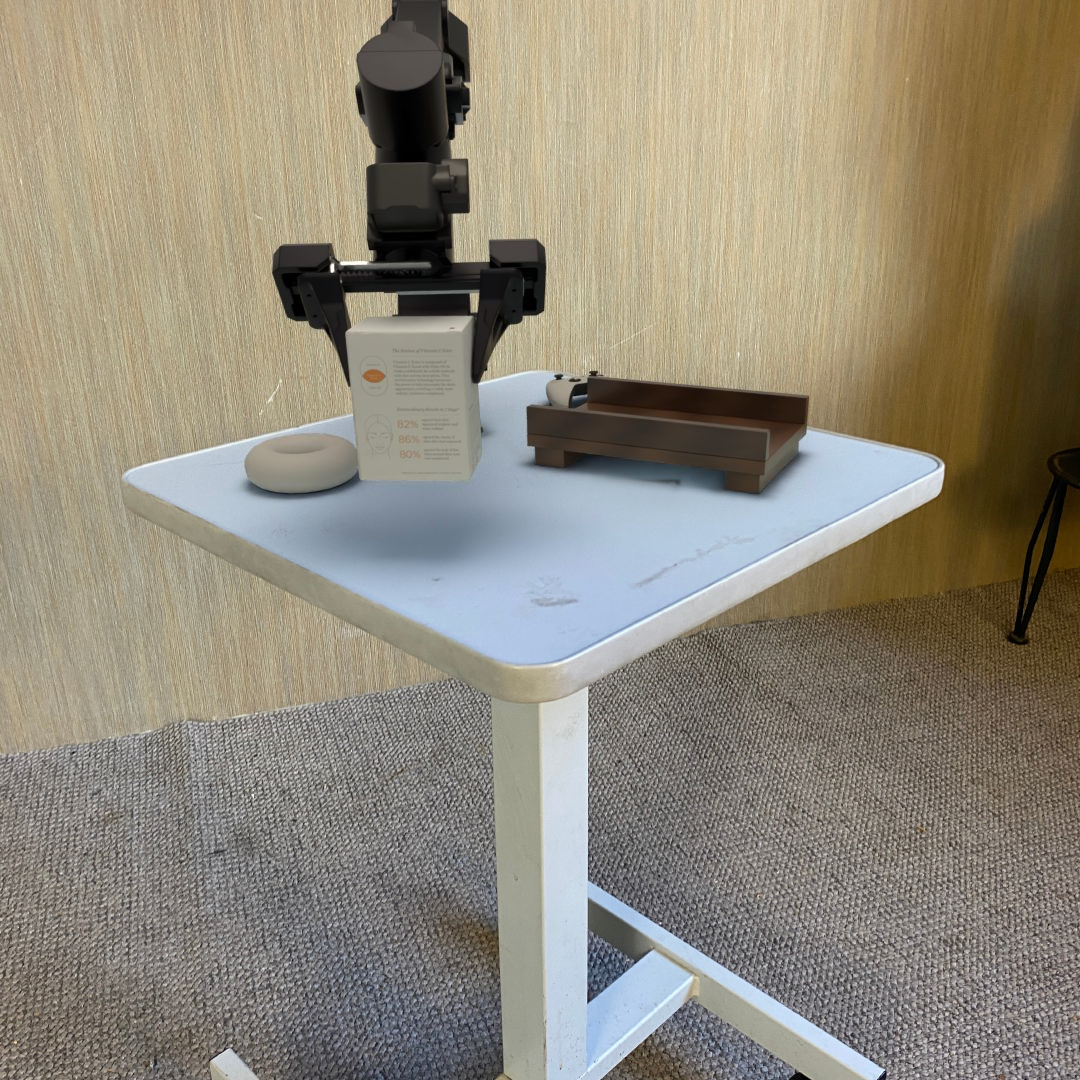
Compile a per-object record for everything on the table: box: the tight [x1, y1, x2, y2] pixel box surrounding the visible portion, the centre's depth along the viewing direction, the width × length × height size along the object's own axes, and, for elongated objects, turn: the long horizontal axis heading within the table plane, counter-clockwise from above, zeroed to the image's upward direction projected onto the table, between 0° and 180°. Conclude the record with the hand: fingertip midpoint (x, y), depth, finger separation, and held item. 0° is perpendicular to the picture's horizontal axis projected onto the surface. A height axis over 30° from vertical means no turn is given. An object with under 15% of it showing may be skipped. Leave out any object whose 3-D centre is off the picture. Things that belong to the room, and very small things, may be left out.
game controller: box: [545, 370, 606, 409], centre depth 117 cm, size 10×5×6 cm
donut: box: [243, 432, 359, 494], centre depth 92 cm, size 10×4×10 cm
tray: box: [525, 376, 810, 495], centre depth 96 cm, size 22×14×6 cm, turn 63°
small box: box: [345, 316, 483, 482], centre depth 73 cm, size 8×6×10 cm
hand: (412, 382), depth 71 cm, fingers closed on small box, 8 cm apart
